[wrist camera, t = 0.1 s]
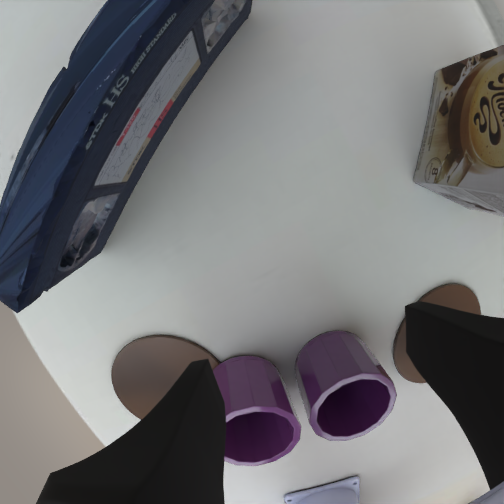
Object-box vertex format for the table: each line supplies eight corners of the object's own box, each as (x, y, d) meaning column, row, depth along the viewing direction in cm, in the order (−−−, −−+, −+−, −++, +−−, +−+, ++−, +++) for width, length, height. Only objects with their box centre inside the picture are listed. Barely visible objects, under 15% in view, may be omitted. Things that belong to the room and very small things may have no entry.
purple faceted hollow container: (368, 379, 23) (395, 423, 18) (300, 400, 23) (314, 450, 18) (364, 320, 22) (397, 360, 16) (287, 342, 22) (302, 390, 16)
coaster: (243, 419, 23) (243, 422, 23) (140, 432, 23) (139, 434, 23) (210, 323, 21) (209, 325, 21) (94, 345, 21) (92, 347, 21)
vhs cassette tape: (102, 255, 19) (16, 318, 10) (68, 231, 19) (-31, 276, 9) (258, 17, 16) (278, -83, 7) (220, -2, 16) (214, -104, 6)
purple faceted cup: (288, 402, 23) (307, 452, 18) (218, 420, 23) (223, 473, 17) (274, 345, 21) (294, 394, 16) (195, 366, 21) (194, 419, 16)
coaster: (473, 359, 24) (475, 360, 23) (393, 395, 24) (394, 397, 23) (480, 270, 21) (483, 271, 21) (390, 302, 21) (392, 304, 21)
